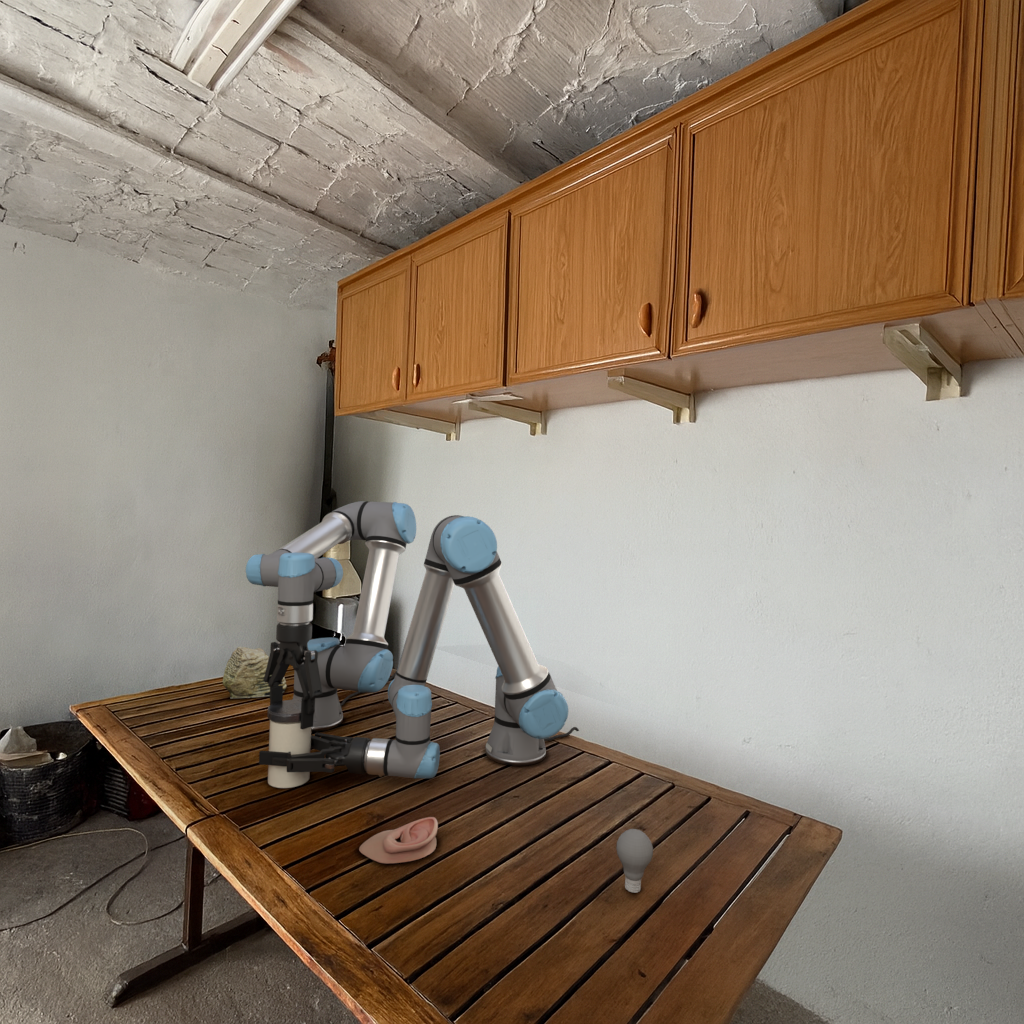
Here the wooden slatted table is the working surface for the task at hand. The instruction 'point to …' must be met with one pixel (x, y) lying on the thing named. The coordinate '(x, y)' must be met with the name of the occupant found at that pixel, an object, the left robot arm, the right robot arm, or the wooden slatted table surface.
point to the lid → (285, 711)
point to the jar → (287, 740)
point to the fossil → (247, 674)
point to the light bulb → (634, 857)
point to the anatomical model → (403, 842)
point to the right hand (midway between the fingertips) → (270, 748)
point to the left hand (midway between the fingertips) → (290, 721)
